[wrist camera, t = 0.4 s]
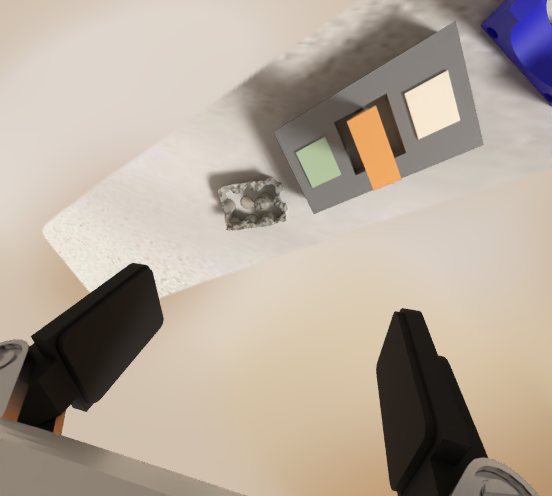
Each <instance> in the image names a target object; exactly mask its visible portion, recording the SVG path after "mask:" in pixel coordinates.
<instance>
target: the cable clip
mask: <svg viewBox="0 0 552 496" xmlns="http://www.w3.org/2000/svg"><path fill="white" fill-rule="evenodd" d="M546 3H547V0H505V1H504V2H503V3H502V4H501V5H500V6H499V7H498V8H497V9H496V10H495V11H494V12H493V13H492V14H491V15H490V16H489V17H488V18H487V20H486V21H485V22H484V23H483V24H482V25H481V27H482V28H483V29H484V30H485V31H486V32H487V33H488V34H489V36H490V37H491V38H492V39H493V40H494V41H495V42H496V44H497V45H498V46H499V47H500V48H501V49H502V50H503V51H504V53H505V54H506V55H507V56H508V57H509V58H510V59H511V61H512V62H513V63H514V64H515V65H516V66H517V67H518V68H519V70H520V71H521V72H522V73H523V74H524V75H525V76H526V78H527V79H528V80H529V81H530V82H531V83H532V84H533V85H534V87H535V88H536V89H537V90H538V91H539V92H540V93H541V95H542V96H543V97H544V98H545V99H546V100H547V101H548V102H549V104H550V105H551V106H552V25H551V23H550V21H549V19H548V15H547V10H546Z"/></svg>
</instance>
